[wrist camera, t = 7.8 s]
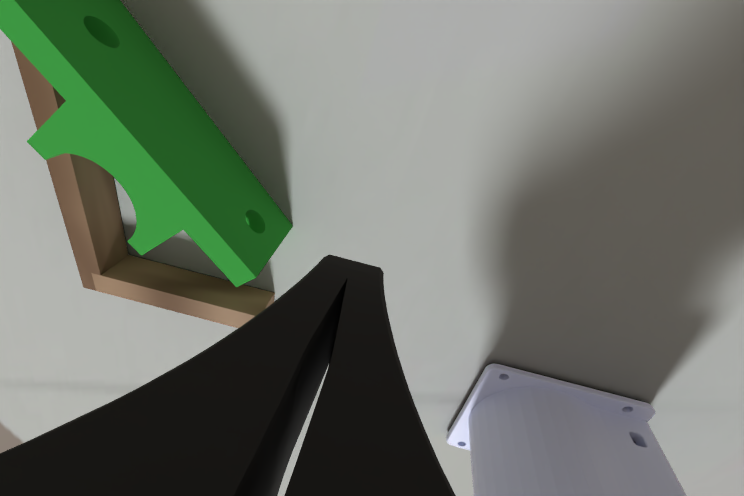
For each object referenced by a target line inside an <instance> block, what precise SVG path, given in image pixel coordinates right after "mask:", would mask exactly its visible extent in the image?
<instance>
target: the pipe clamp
mask: <svg viewBox="0 0 744 496" xmlns="http://www.w3.org/2000/svg"><path fill="white" fill-rule="evenodd" d="M0 29H1V30H2V31H3V32H4V33H5V35H6V36H7V37H8V38H9V39H10V40H11V41H12V42H13V43H14V44H15V45H16V47H17V48H18V49H19V50H20V51H21V52H22V53H23V54H24V55H25V56H26V58H27V59H28V60H29V61H30V62H31V63H32V64H33V65H34V66H35V67H36V69H37V70H38V71H39V72H40V73H41V74H42V75H43V76H44V77H45V78H46V79H47V81H48V82H49V83H50V84H51V85H52V86H53V87H54V88H55V89H56V90H57V92H58V93H59V94H60V95H61V96H62V97H63V98H64V99H65V100H66V101H65V102H64V103H63V104H62V105H61V107H60V108H59V109H58V110H57V111H56V112H55V113H54V114H53V115H52V116H51V117H50V118H49V119H48V120H47V121H46V122H45V123H44V124H43V125H42V126H41V127H40V128H39V129H38V130H37V131H36V132H35V133H34V135H33V136H32V137H31V138H30V139H29V140H28V141H27V142H28V143H29V144H30V145H31V146H32V147H33V148H34V149H35V150H36V151H37V152H38V153H39V154H40V155H41V156H42V157H43V158H44V159H45V160H47V159H50V158H53V157H55V156H58V155H61V154H64V153H68V154H74V155H78V156H82V157H84V158H87V159H89V160H91V161H93V162H95V163H96V164H98V165H100V166H101V167H103V168H104V169H105V170H107V171H108V172H109V173H110V174H111V175H112V176H113V177H114V178H115V179H116V180H117V181H118V182H119V183H120V184H121V185H122V187H123V188H124V189H125V191H126V192H127V194H128V195H129V197H130V199H131V201H132V203H133V206H134V209H135V212H136V219H137V224H136V230H135V232H134V234H133V236H132V237H131V238H130V239H129V240H128V241H127V242H128V243H129V244H130V245H131V246H132V247H133V248H134V249H135V250H136V251H137V252H138V253H139V254H140V255H141V256H142V255H144V254H145V253H147V252H148V251H150V250H151V249H153V248H155V247H156V246H158V245H159V244H161V243H163V242H164V241H166V240H167V239H169V238H171V237H172V236H174V235H175V234H177V233H179V232H180V231H182V230H184V231H185V232H186V233H187V234H188V235H189V236H190V237H191V238H192V239H193V241H194V242H195V243H196V244H197V245H198V246H199V247H200V248H201V249H202V250H203V251H204V253H205V254H206V255H207V256H208V257H209V258H210V259H211V260H212V261H213V262H214V264H215V265H216V266H217V267H218V268H219V269H220V270H221V271H222V272H223V273H224V274H225V276H226V277H227V278H228V279H229V280H230V281H231V282H232V283H233V284H234V285H235V287H238V286H240V285H242V284H244V283H246V282H248V281H250V280H253V279H255V278H256V277H257V276H258V275H259V273H260V272H261V270H262V269H263V268H264V266H265V265H266V263H267V262H268V260H269V259H270V258H271V256H272V255H273V253H274V252H275V251H276V249H277V248H278V246H279V245H280V244H281V242H282V241H283V239H284V238H285V237H286V235H287V234H288V232H289V231H290V230H291V228H292V227H293V226H292V224H291V223H290V222H289V220H288V219H287V218H286V216H285V215H284V214H283V213H282V211H281V210H280V209H279V207H278V206H277V205H276V203H275V202H274V201H273V199H272V198H271V197H270V196H269V194H268V193H267V192H266V190H265V189H264V188H263V186H262V185H261V184H260V183H259V181H258V180H257V179H256V177H255V176H254V175H253V173H252V172H251V171H250V169H249V168H248V167H247V166H246V164H245V163H244V162H243V160H242V159H241V158H240V156H239V155H238V154H237V152H236V151H235V150H234V149H233V147H232V146H231V145H230V143H229V142H228V141H227V139H226V138H225V137H224V136H223V134H222V133H221V132H220V130H219V129H218V128H217V126H216V125H215V124H214V122H213V121H212V120H211V119H210V117H209V116H208V115H207V113H206V112H205V111H204V109H203V108H202V107H201V105H200V104H199V103H198V102H197V100H196V99H195V98H194V96H193V95H192V94H191V92H190V91H189V90H188V89H187V87H186V86H185V85H184V83H183V82H182V81H181V79H180V78H179V77H178V75H177V74H176V73H175V72H174V70H173V69H172V68H171V66H170V65H169V64H168V62H167V61H166V60H165V58H164V57H163V56H162V55H161V53H160V52H159V51H158V49H157V48H156V47H155V45H154V44H153V43H152V42H151V40H150V39H149V38H148V36H147V35H146V34H145V32H144V31H143V30H142V28H141V27H140V26H139V25H138V23H137V22H136V21H135V19H134V18H133V17H132V15H131V14H130V13H129V11H128V10H127V9H126V8H125V6H124V5H123V4H122V2H121V1H120V0H0Z"/></svg>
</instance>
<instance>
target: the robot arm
mask: <svg viewBox="0 0 744 496" xmlns="http://www.w3.org/2000/svg"><path fill="white" fill-rule="evenodd" d="M383 274H384V273H383V271H382V270H381V268H379V267H375V266H371V265H368V264H364V263H360V262H356V261H352V260H348V259H344V258H341V257H337V256H333V255H328V256H326V257H324V258H323V259H322V260H321V261H320V262H319V263H318V264H317V265H316V266H315V267H314V268H313V269H312V270H311V271H310V272H309V273H308V274H307V275H306V276H305V277H303V278H302V279H301V280H300V281H299V282H298V283H297V284H295V285H294V286H293V287H292V288H291V289H289V290H288V291H287V292H286V293H285V294H283V295H282V296H281V297H280V298H278V299H277V300H276V301H275V302H274V303H272V304H271V305H270V306H268V307H267V308H266V309H264V310H263V311H262V312H260V313H259V314H258V315H256V316H255V317H253V318H252V319H251V320H249V321H248V322H246V323H245V324H244V325H242V326H241V327H240V328H238V329H237V330H235V331H234V332H232V333H231V334H229V335H228V336H226V337H225V338H223V339H222V340H220V341H219V342H217V343H216V344H214V345H212V346H211V347H209V348H208V349H206V350H204V351H203V352H201V353H199V354H198V355H196V356H195V357H193V358H191V359H190V360H188V361H186V362H184V363H183V364H181V365H179V366H177V367H176V368H174V369H172V370H170V371H168V372H167V373H165V374H163V375H161V376H159V377H158V378H156V379H154V380H152V381H150V382H149V383H147V384H145V385H143V386H141V387H139V388H137V389H135V390H134V391H132V392H130V393H128V394H126V395H124V396H122V397H120V398H118V399H116V400H114V401H112V402H110V403H108V404H106V405H104V406H102V407H100V408H97V409H95V410H93V411H91V412H89V413H87V414H85V415H83V416H80V417H78V418H76V419H74V420H72V421H70V422H68V423H66V424H64V425H61V426H59V427H57V428H55V429H53V430H51V431H49V432H47V433H44V434H42V435H40V436H38V437H36V438H34V439H32V440H30V441H27V442H25V443H23V444H21V445H18V446H16V447H14V448H12V449H9V450H7V451H5V452H3V453H0V496H277V494H278V491H279V488H280V485H281V482H282V479H283V476H284V473H285V470H286V467H287V465H288V462H289V459H290V457H291V454H292V451H293V449H294V446H295V444H296V442H297V439H298V437H299V434H300V432H301V430H302V427H303V425H304V422H305V420H306V418H307V415H308V413H309V410H310V408H311V405H312V403H313V401H314V398H315V396H316V393H317V391H318V389H319V386H320V384H321V381H322V379H323V376H324V374H325V372H326V369H327V367H328V364H329V367H328V371H327V374H326V377H325V380H324V383H323V386H322V389H321V392H320V395H319V398H318V401H317V404H316V406H315V409H314V412H313V415H312V418H311V421H310V424H309V427H308V430H307V433H306V436H305V439H304V441H303V444H302V447H301V450H300V453H299V456H298V459H297V462H296V465H295V467H294V470H293V473H292V476H291V479H290V482H289V485H288V487H287V490H286V493H285V496H455V494H454V492H453V490H452V488H451V486H450V484H449V482H448V480H447V478H446V476H445V474H444V472H443V470H442V468H441V466H440V463H439V461H438V459H437V457H436V455H435V452H434V450H433V448H432V445H431V443H430V441H429V438H428V436H427V434H426V432H425V429H424V427H423V424H422V422H421V419H420V417H419V414H418V412H417V409H416V407H415V404H414V402H413V399H412V396H411V393H410V391H409V388H408V385H407V382H406V379H405V376H404V373H403V370H402V367H401V363H400V360H399V357H398V354H397V350H396V346H395V343H394V339H393V335H392V331H391V326H390V322H389V318H388V313H387V308H386V301H385V295H384V285H383ZM654 415H655V410H654V408H653V406H652V405H651V404H649V403H645V402H642V401H638V400H634V399H630V398H626V397H622V396H619V395H615V394H611V393H607V392H603V391H599V390H596V389H592V388H588V387H584V386H580V385H576V384H573V383H569V382H565V381H561V380H557V379H553V378H550V377H546V376H542V375H538V374H534V373H531V372H527V371H523V370H519V369H515V368H511V367H508V366H504V365H500V364H495V363H494V364H490V365H488V366H487V367H486V368H485V370H484V371H483V373H482V375H481V376H480V378H479V380H478V382H477V383H476V385H475V387H474V389H473V390H472V392H471V394H470V396H469V397H468V399H467V401H466V403H465V404H464V406H463V408H462V410H461V411H460V413H459V415H458V417H457V418H456V420H455V422H454V423H453V425H452V427H451V429H450V430H449V432H448V434H447V443H448V444H450V445H452V446H455V447H459V448H463V449H467V450H470V455H471V467H472V479H473V491H474V496H686V494H685V492H684V490H683V488H682V486H681V484H680V483H679V481H678V479H677V477H676V475H675V473H674V471H673V469H672V468H671V466H670V464H669V462H668V460H667V458H666V456H665V454H664V453H663V451H662V449H661V447H660V445H659V443H658V441H657V439H656V438H655V436H654V434H653V432H652V430H651V428H650V426H649V424H648V423H647V422H648V421H649V420H650V419H651V418H652V417H653V416H654Z"/></svg>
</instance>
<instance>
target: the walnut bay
mask: <svg viewBox="0 0 744 496" xmlns="http://www.w3.org/2000/svg"><path fill="white" fill-rule="evenodd" d="M11 42H12V41H11ZM12 45H13V49H14V52H15V56H16V59H17V62H18V66H19V69H20V73H21V76H22V79H23V83H24V86H25V90H26V93H27V97H28V100H29V103H30V107H31V110H32V114H33V117H34V120H35V124H36V127H37V130H38V129H39V128H40V127H41V126H42V125H43V124H44V123H45V122H46V121H47V120H48V119H49V118H50V117H51V116H52V115H53V114H54V113H55V112H56V111H57V110H58V109H59V108H60V107H61V105H62V104H63V103H64V102H65V101H66V100H65V99H64V98H63V97H62V96H61V95H60V94H59V93H58V92H57V90H56V89H55V88H54V87H53V86H52V85H51V84H50V83H49V82H48V81H47V79H46V78H45V77H44V76H43V75H42V74H41V73H40V72H39V71H38V70H37V69H36V67H35V66H34V65H33V64H32V63H31V62H30V61H29V60H28V59H27V58H26V56H25V55H24V54H23V53H22V52H21V51H20V50H19V49H18V48H17V47H16V45H15V44H14V43H13V42H12ZM46 161H47V165H48V168H49V171H50V175H51V178H52V182H53V185H54V188H55V192H56V195H57V199H58V202H59V205H60V209H61V212H62V216H63V219H64V222H65V226H66V229H67V233H68V236H69V239H70V243H71V246H72V250H73V253H74V256H75V260H76V263H77V267H78V270H79V274H80V277H81V280H82V284H83V287H84V288H88V289H92V290H95V291H99V292H103V293H107V294H111V295H114V296H118V297H122V298H126V299H130V300H134V301H137V302H141V303H145V304H149V305H153V306H156V307H160V308H164V309H168V310H172V311H175V312H179V313H183V314H187V315H191V316H194V317H198V318H202V319H206V320H210V321H213V322H217V323H221V324H225V325H229V326H233V327H236V328H240V327H241V326H242V325H244V324H245V323H246V322H248V321H249V320H251V319H252V318H253V317H255V316H256V315H258V314H259V313H260V312H262V311H263V310H264V309H266V308H267V307H268V306H270V305H271V304H272V303H274V294H275V293H273V292H269V291H265V290H262V289H258V288H254V287H250V286H246V285H240V286H238V287H235V285H234V284H233V283H232V282H231V281H227V280H223V279H219V278H216V277H212V276H208V275H204V274H200V273H196V272H193V271H189V270H185V269H181V268H177V267H173V266H170V265H166V264H162V263H158V262H154V261H150V260H147V259H143V258H139V257H135V256H131V255H128V250H127V245H126V240H125V235H124V230H123V225H122V219H121V214H120V209H119V204H118V199H117V194H116V189H115V184H114V178H113V176H112V175H111V174H110V173H109V172H108V171H107V170H105V169H104V168H103V167H101V166H100V165H98V164H96V163H95V162H93V161H91V160H89V159H87V158H84V157H82V156H78V155H74V154H68V153H64V154H61V155H58V156H55V157H53V158H50V159H47V160H46Z"/></svg>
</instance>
